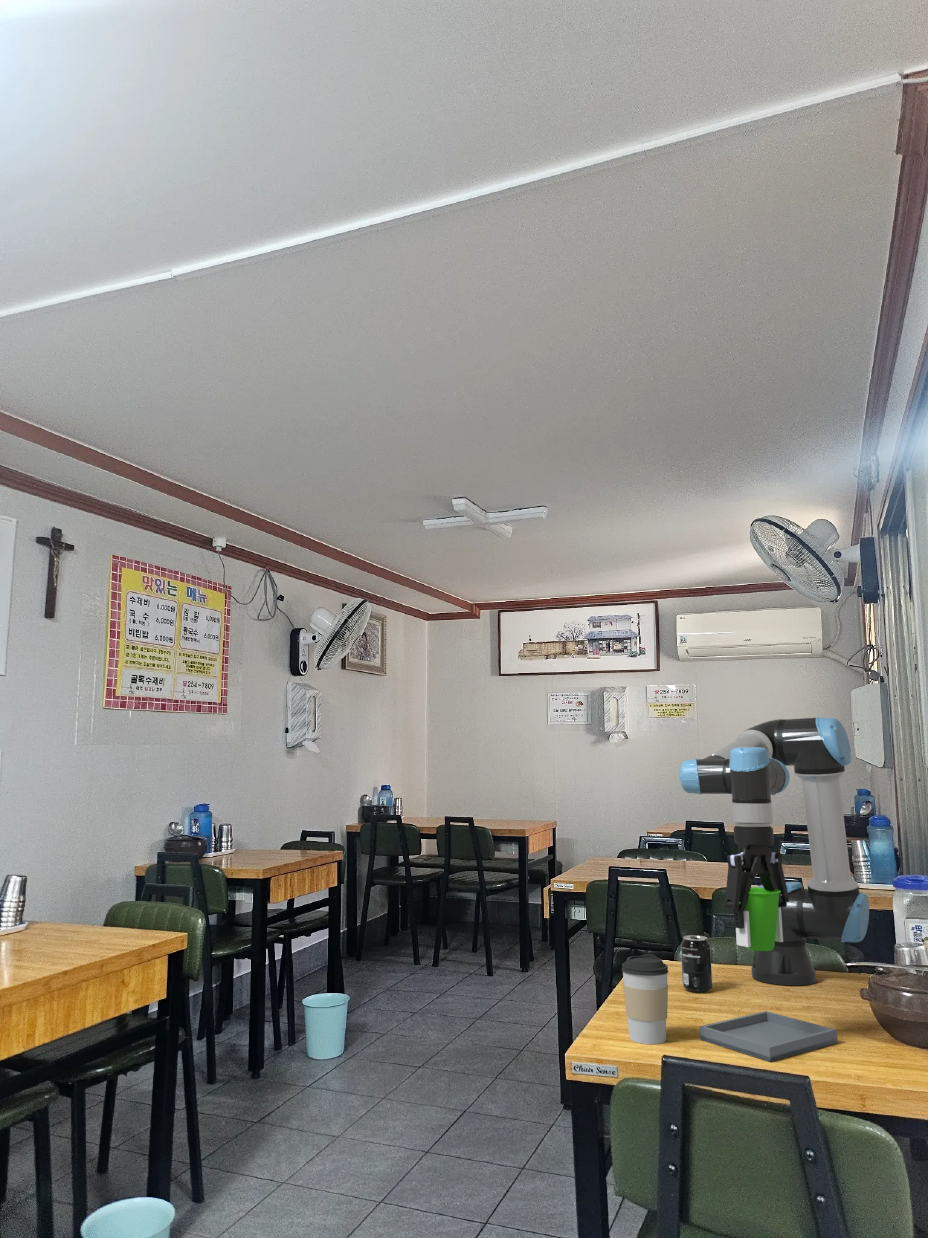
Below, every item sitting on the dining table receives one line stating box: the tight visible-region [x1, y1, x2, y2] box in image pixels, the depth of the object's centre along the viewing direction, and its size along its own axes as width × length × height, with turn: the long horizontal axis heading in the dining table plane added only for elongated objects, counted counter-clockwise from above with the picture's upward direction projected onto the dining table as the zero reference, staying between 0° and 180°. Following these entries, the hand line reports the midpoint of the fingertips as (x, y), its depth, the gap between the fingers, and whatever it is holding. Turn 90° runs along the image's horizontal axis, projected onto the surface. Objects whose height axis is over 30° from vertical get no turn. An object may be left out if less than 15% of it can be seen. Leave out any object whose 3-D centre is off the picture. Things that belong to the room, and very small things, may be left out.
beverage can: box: [680, 934, 713, 994], centre depth 204 cm, size 7×7×12 cm
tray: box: [698, 1010, 838, 1063], centre depth 164 cm, size 20×16×2 cm
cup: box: [739, 886, 781, 952], centre depth 168 cm, size 9×9×11 cm
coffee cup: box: [621, 953, 670, 1045], centre depth 166 cm, size 9×9×15 cm
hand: (760, 943), depth 167 cm, fingers closed on cup, 9 cm apart
